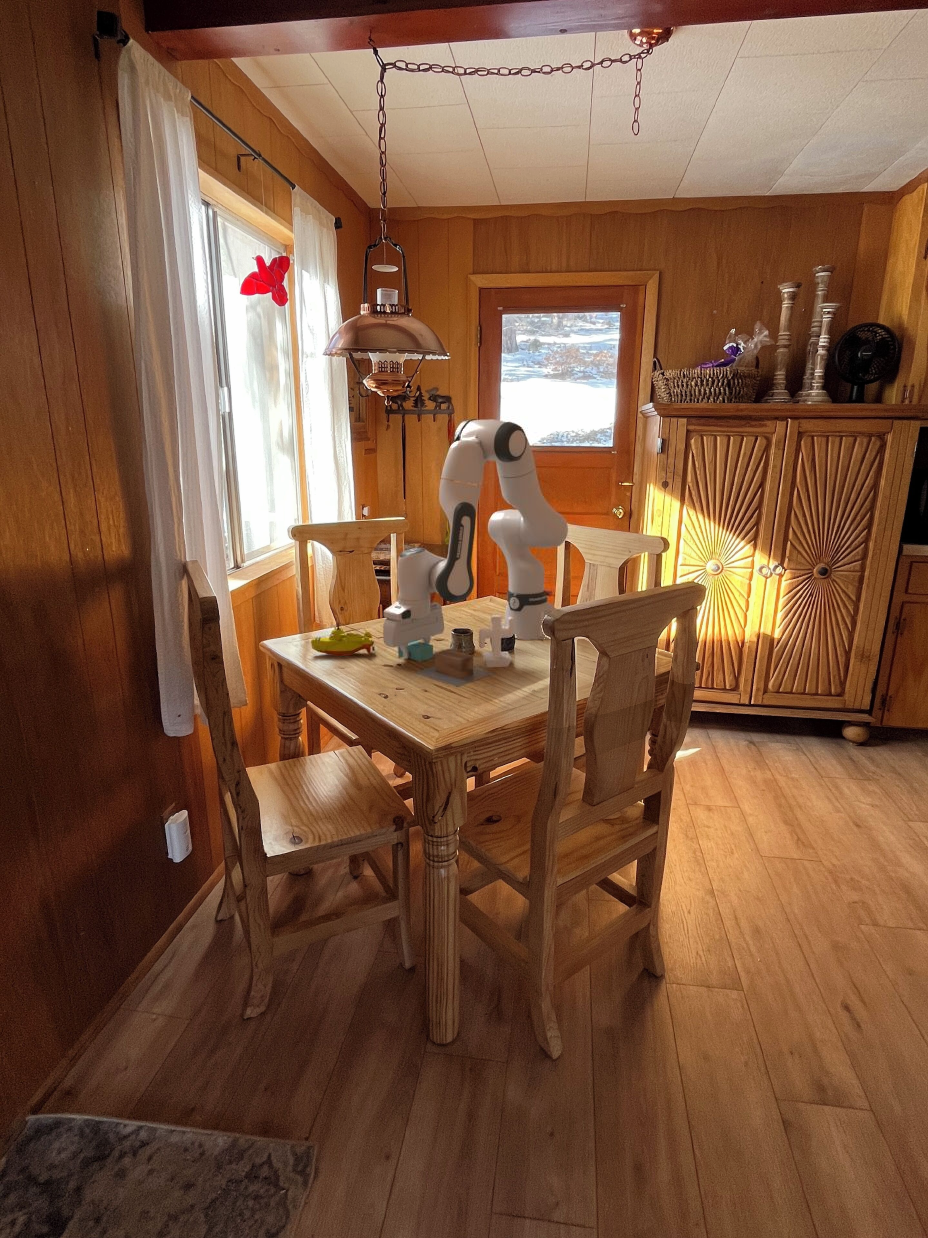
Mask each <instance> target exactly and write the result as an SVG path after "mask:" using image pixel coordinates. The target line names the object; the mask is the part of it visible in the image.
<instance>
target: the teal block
mask: <svg viewBox="0 0 928 1238" xmlns="http://www.w3.org/2000/svg"><path fill="white" fill-rule="evenodd" d="M406 648H407V650H408V651H410V652H411V657H410V658H409V659H410V660H414V661H417V662H420V663H421V662H423V661H427V660H429V659H432V658H434V645H433V644H430V643H429V644H427V643H423V641H420V640H418V641H414V642H411V643H408V647H406ZM397 653H398V655H397V656H398V659H401V658H403V652H402V650H401V648H400V647H399V646H397Z"/></svg>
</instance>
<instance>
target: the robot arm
mask: <svg viewBox="0 0 928 1238" xmlns="http://www.w3.org/2000/svg"><path fill="white" fill-rule="evenodd" d="M487 462H495V464H496V469H497V475H498V480H499V486H500V491H501V496H502V498H503V499H504V501H505V502H506V503H508V504H509V505H510V506H512V507H513V508H515V509H503V510H498V511H495V512H493V514H492V515H491V516H490V518H489V520H488V523H487V531H488V532H487V533H488V534H489V537H490V539H491V540H492V541H493V542H495V543H496V545H497V546H498V547H499V549H500V550H501V551H502V554H503V555H504V558H505V561H506V564H507V572H508V574H507V575H508V576H507V577H508V589H507V592H506V593H507V594H506V599H507V600H506V601H507V604H506V606H505V612H504V623H503V625H501V627H507V626H508V618H509V617H513V618H514V633H515V634H516V636H517V639H518V640H550V639H549V638H547V637H545V635H544V634H543V632H542V628H541V625H542V621H543V619H544V617H545V615H547V614H550V613H551V612H552V611H553V610H555V609H557V608H556V607H555V606H554V605H553V604H551V602H550V601H548V597H552V596H553V590H552V589H547V588H546V589H545V566H544V565H543V563H542V561H540V560H539V559H538V558H536V557H535V556H534V555H533V553H532V552H531V550H530V548H541V549H550V548H554V547H555V548H556V547H560V546H562V545H563V543H564V542H565V541H566V539H567V537H568V533H569V526H568V522H567V520H566V518H565V517H564V516H563V515H562V514H561V513H560V512H557V511H556V510H555V509H554V508H553V507H552V506H551V505H550V503H549V502H548V501H547V500H546V498H545V497H544V495H543V493H542V490H541V487H540V484H539V479H538V474H537V468H536V463H535V462H536V461H535V458H534V454H533V451H532V446H531V445H530V441H529V439H528V437H527V434H526V432H525V430H524V429H523V427H522V426H521V425H519V424H517V423H515V422H512V421H504V420H499V419H492V418H491V419H477V418H471V419H466V420H464V421H461V422H460V424H459V425H458V426H457V428H456V430H455V433H454V436H453V443H452V444H451V445H450V446H449V449H448V452H447V455H446V457H445V461H444V464H443V468H442V471H441V477H440V481H439V482H440V483H439V490H438V494H439V495H438V496H439V498H438V499H439V500H438V501H439V504H440V507H441V509H442V511H443V512H444V514H445V516H446V517H447V520H448V522H449V529H450V532H449V533H450V534H449V542H448V551H447V556H446V557H447V558H446V557H441V556H438V555H436V554H434V553H432V552H430V551H429V550H427V549H426V548H424V547H414V548H410V549H406V550H404V551H402V552H401V553H400V554H399V555H398V559H397V566H396V567H397V568H396V570H397V571H396V575H397V577H396V579H397V582H396V583H397V586H398V595H397V601H395V602H394V603H393V604H391V605H390V606H389V607H387V608H386V609H384V610H383V617H384V618H385V620H384V621H383V625H382V626H383V629H382V636H383V637H382V638H383V643H384V645H385V646H387V647H390V648H396V647H397V648H398V646H399V647H400V648H401V650H402V652H403V657H402V658H403V659H405V660H406V659H407V660H408V659H410V657H411V652H410V651H408V650H407V648H406V647H408V643H411V642H414V641H421V640H423V641H422V642H423V643H427V644H430V643H431V640H432V637H434V636H438V635H442V634H443V633H444V632H445V621H444V615H443V607H442V605H441V603H439V602H437V601H434V602H431V594H432V593H436V594H438V595H439V596H440V598H442V599H443V600H444V601H446V602H448V603H452V604H453V603H454V604H456V603H460V602H463V601H464V600H466V599H467V598H468V597H469V596H470V595H471V594H472V591H473V590H474V587H475V586H474V585H475V580H474V574H473V570H472V558H473V551H474V550H473V549H474V542H475V534H476V533H475V532H476V523H477V522H476V521H477V520H476V519H477V512H478V504H479V500H480V499H479V498H480V494H481V488H482V482H483V477H484V476H483V474H484V467H485V465H486V463H487ZM544 638H545V639H544Z"/></svg>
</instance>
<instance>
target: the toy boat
mask: <svg viewBox="0 0 928 1238" xmlns="http://www.w3.org/2000/svg"><path fill="white" fill-rule="evenodd" d="M339 625H342V626H344V627H347V628H349V629H351V630H354V631H356V632H358V633H361V634H363V635H361V634H358V633H355V632H354V633H352V632H350V633H349V632H347V631H346V630H344V629H343V628H341V627H340V626H339ZM346 632H347V633H346ZM373 638H374V637H373V635H372V634H371V632H370V631H365V633H364V632H362V631H360V630H358V629H355V628H353V627H350V626H348V625H346V624H344V623H340V622H339V621H337V626H334V629H333V630H331V632H330V634H329V636H328V637H326V636H324V637H323V636H322V637H320V636H319V637H314V638H311V640H310V644H311V649H312V650H314V651H316V652H318V653H321V654H326V655H329V656H334V657H335V656H348V655H349V656H351V655H354V654H355V653H357V652H360V651H362V650H366V652H367V654H368V655H371V654H372V653H371V650H372V652H375V650H376V649H375V645H374V644H375V640H373Z"/></svg>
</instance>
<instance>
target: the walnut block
mask: <svg viewBox="0 0 928 1238" xmlns="http://www.w3.org/2000/svg"><path fill="white" fill-rule="evenodd" d="M434 666H435V671H436V672H439V673H442V674H445V675H449V676H452V677H455V678H458V679H462V678H464V677H467V676H470V675H473V667H474V655H472V654H468V653H465V652H461V651H457V650H454V649H450V648H447V649H444V650H441V651H437V652H435V653H434Z"/></svg>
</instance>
